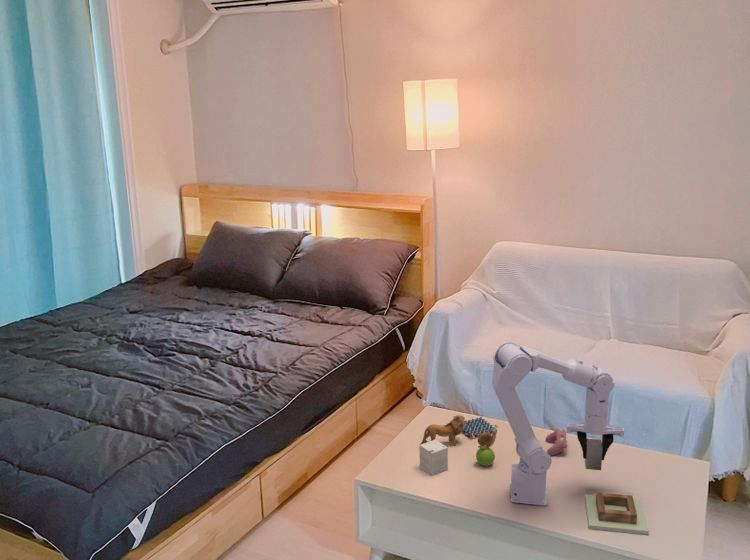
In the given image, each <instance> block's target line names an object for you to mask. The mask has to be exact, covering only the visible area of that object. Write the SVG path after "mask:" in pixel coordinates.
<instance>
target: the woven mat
mask: <svg viewBox="0 0 750 560" xmlns="http://www.w3.org/2000/svg"><path fill="white" fill-rule="evenodd" d="M495 428H496V426H494V425H492V424H491V423H490V422H488V421H487V420H485V419H484V418H483V417H482V416H481V417H476V418H471V419H468V420H465V426H464V429H463V430H462V432H461V434H463V435H464V437H466V438H467V439H468V440H470V441H472V439H473V440H474V439H478V437H479V435H480V434H482V433H484V432H488V433H490V434H491V436H492V434H493V432H492V431H493V429H495Z"/></svg>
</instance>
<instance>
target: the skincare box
mask: <svg viewBox="0 0 750 560" xmlns="http://www.w3.org/2000/svg"><path fill="white" fill-rule="evenodd" d="M420 444H421V443H420ZM420 444H419V468H421V469H422V470H423V471H425V472H426V473H428V474H429V475H430V476H434V475H437V474H440V473H441V472H445V471H447V470H449V466H448V465H449V464H448V463H449V461H448V460H449V459H448V458H449V454H448V453H449V451H448V450H449V449H448V446H447V445H445V444H443V443H441V442H440V441H439V440H437V439H435V440H433V441H431V440H430V441H428V442H427V443H423V444H421V445H420Z"/></svg>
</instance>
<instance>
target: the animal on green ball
mask: <svg viewBox="0 0 750 560" xmlns="http://www.w3.org/2000/svg"><path fill="white" fill-rule="evenodd" d="M494 427H495V428H494V429H493V431H492V432H493V433H492V435H491V434H490V433H488V432H484V433H482V434H480V435H479V437H478V436H477V437H478V438H477V444H478V446H477V447H478V450H477V451H476V453H475V459H476V461H477V463H478V464H480V465H481V466H484V467H488V466H490V465H492V464H493V463H494V461H495V458H496V455H495V454H496V453H495V452H494V450H493V449H492V448H490V447H493V445H494V444H495V441H496V438H497V437H496V436H497V433H498V425H497V424H494Z"/></svg>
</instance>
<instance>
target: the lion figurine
mask: <svg viewBox="0 0 750 560" xmlns="http://www.w3.org/2000/svg"><path fill="white" fill-rule="evenodd" d="M465 419H466V418H465V416H463V415H461V414H456V415H454V416H453V419H451V420H450V421H449V422H448V423H446V424H444V425H443V424H441V425H439V424H436V423H433V424H430V425H428V426H427V427H426V428H425V430H424V433H423V437H422V441H421V443H420V444H419V446H420V445H421V444H424V443H427V442H429V441H428V440H427V439H428V438H429V437H430V441H433V440H436V437H437V436H438V437H442V438H446V437H447V438H448V440H447V441H448V442H449V443H451V445H452V446H453V447H457V446H458V445H457V443H456V438H457V436H459V435H461V434H462V433H461V432H462V430H463V429H464V426H465V421H466V420H465Z"/></svg>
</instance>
